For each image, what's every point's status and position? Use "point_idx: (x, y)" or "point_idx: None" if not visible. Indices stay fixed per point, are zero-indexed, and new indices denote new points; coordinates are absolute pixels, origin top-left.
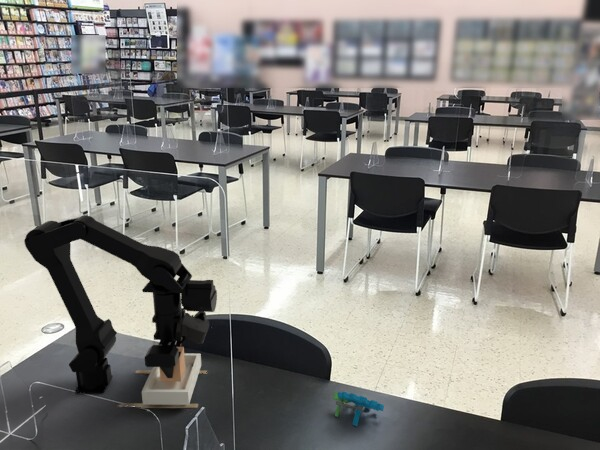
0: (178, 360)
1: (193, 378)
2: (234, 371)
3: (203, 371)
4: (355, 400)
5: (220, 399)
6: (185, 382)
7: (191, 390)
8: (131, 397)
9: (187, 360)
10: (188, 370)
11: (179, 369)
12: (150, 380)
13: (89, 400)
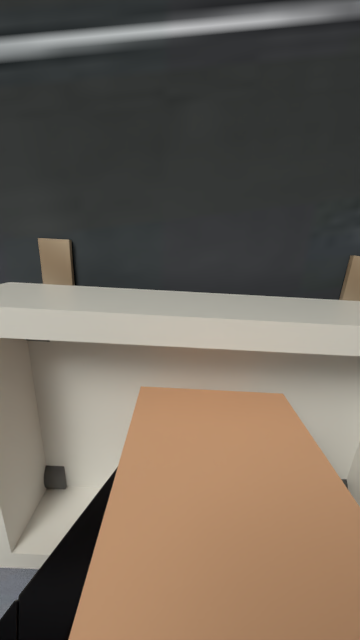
0: None
1: (285, 314)
2: (15, 24)
3: (50, 263)
4: None
5: (332, 115)
6: (224, 354)
7: (350, 308)
8: None
9: (11, 383)
10: (95, 354)
11: (343, 491)
12: None
13: None
